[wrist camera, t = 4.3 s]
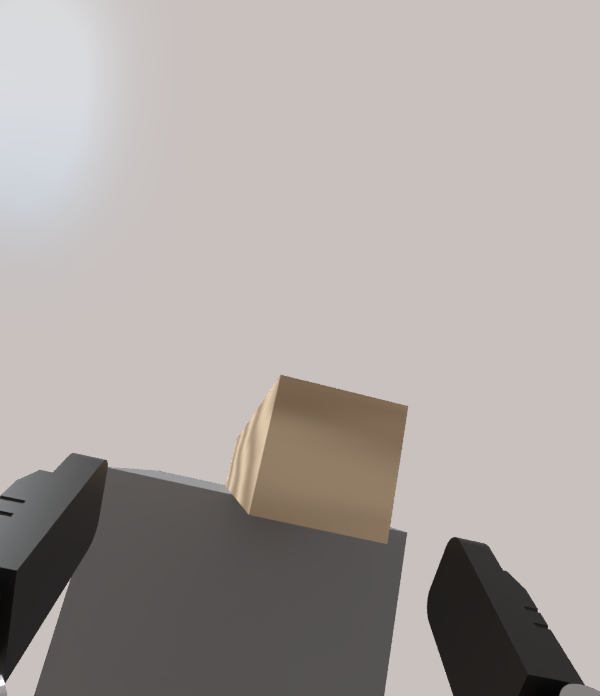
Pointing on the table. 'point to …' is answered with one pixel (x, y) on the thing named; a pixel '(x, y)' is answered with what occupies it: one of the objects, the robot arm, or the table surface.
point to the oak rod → (320, 459)
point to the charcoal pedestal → (220, 600)
